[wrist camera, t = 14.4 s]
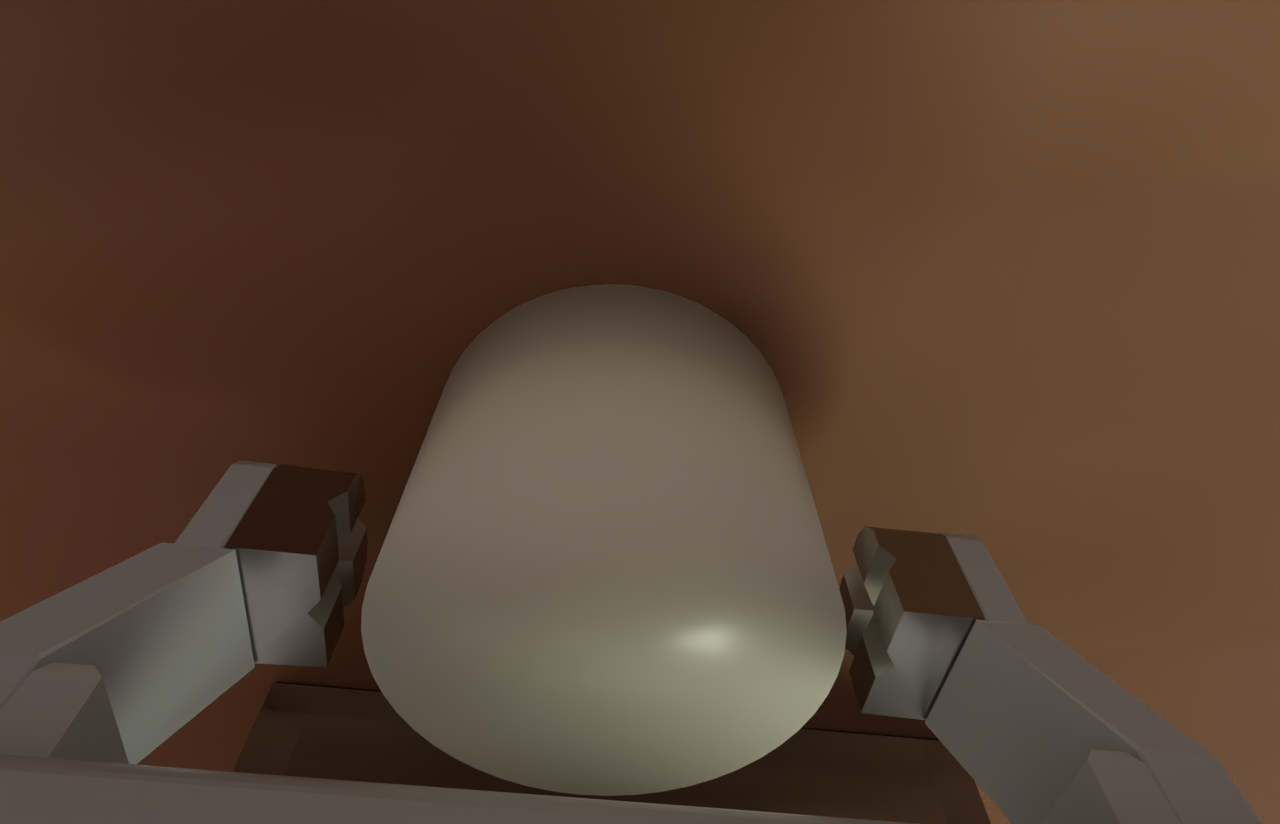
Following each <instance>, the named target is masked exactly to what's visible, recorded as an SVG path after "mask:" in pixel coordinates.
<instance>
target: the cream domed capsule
mask: <svg viewBox="0 0 1280 824" xmlns="http://www.w3.org/2000/svg"><path fill="white" fill-rule="evenodd" d="M361 634H362V640H363V647H364V653H365V656H366V659H367V662H368V665H369V667H370V670H371V673H372V675H373V677H374V679H375V681H376V683H377V684H378V686H379V688H380V690H381V692H382V694H383V695H384V696H385V698H386V699H387V700H388V702H389V703H390V704H391V706H392V707H393V708H394V710H395V711H396V712H397V713H398V714H399V715H400V716H401V717H402V718H403V719H404V720H405V721H406V722H407V723H408V724H409V725H410V726H411V727H412V728H413V729H414V730H415V731H416V732H417V733H419V734H420V735H421V736H423V737H424V738H425V739H426V740H428V741H429V742H430V743H431V744H433V745H434V746H436V747H437V748H439V749H441V750H442V751H444V752H445V753H447V754H449V755H450V756H452V757H453V758H455V759H457V760H459V761H461V762H463V763H465V764H467V765H469V766H471V767H473V768H475V769H477V770H480V771H483V772H485V773H488V774H490V775H493V776H496V777H498V778H501V779H504V780H507V781H511V782H514V783H518V784H521V785H525V786H529V787H533V788H538V789H543V790H548V791H553V792H561V793H570V794H578V795H597V796H619V795H639V794H647V793H656V792H663V791H668V790H673V789H678V788H683V787H688V786H692V785H695V784H699V783H702V782H706V781H709V780H712V779H715V778H718V777H720V776H723V775H726V774H728V773H731V772H733V771H736V770H738V769H740V768H742V767H744V766H746V765H748V764H750V763H752V762H754V761H756V760H758V759H760V758H762V757H763V756H765V755H766V754H768V753H769V752H771V751H772V750H774V749H776V748H777V747H779V746H780V745H781V744H783V743H784V742H785V741H786V740H788V739H789V738H790V737H791V736H793V735H794V734H795V733H796V732H797V731H799V730H800V729H801V728H802V726H803V725H804V724H805V723H806V722H807V721H808V720H809V719H810V718H811V717H812V716H813V715H814V714H815V713H816V711H817V710H818V708H819V707H820V706H821V704H822V703H823V701H824V700H825V699H826V697H827V696H828V694H829V692H830V690H831V688H832V686H833V684H834V682H835V680H836V678H837V676H838V673H839V670H840V667H841V663H842V660H843V657H844V652H845V643H846V634H847V629H846V617H845V608H844V604H843V601H842V597H841V594H840V590H839V586H838V583H837V579H836V576H835V573H834V569H833V566H832V562H831V559H830V555H829V552H828V548H827V545H826V542H825V538H824V535H823V531H822V528H821V524H820V521H819V517H818V514H817V510H816V507H815V504H814V500H813V497H812V493H811V490H810V486H809V483H808V479H807V476H806V473H805V469H804V466H803V462H802V459H801V455H800V452H799V448H798V445H797V442H796V438H795V435H794V431H793V428H792V424H791V421H790V417H789V414H788V411H787V407H786V404H785V400H784V397H783V393H782V390H781V387H780V385H779V383H778V381H777V379H776V377H775V374H774V372H773V370H772V369H771V367H770V366H769V364H768V362H767V361H766V359H765V358H764V356H763V355H762V353H761V352H760V351H759V350H758V349H757V348H756V346H755V345H754V344H753V343H752V342H751V341H750V340H749V339H748V337H747V336H746V335H744V334H743V333H742V332H741V331H740V330H739V329H737V328H736V327H735V326H734V325H733V324H731V323H730V322H729V321H728V320H726V319H724V318H723V317H721V316H720V315H718V314H717V313H715V312H714V311H712V310H710V309H709V308H707V307H705V306H702V305H700V304H698V303H696V302H694V301H692V300H690V299H687V298H685V297H682V296H679V295H676V294H672V293H669V292H666V291H663V290H658V289H653V288H648V287H642V286H637V285H622V284H600V285H585V286H579V287H574V288H568V289H562V290H559V291H555V292H552V293H549V294H546V295H543V296H539V297H537V298H534V299H532V300H530V301H528V302H526V303H524V304H521V305H519V306H517V307H515V308H513V309H512V310H510V311H509V312H507V313H505V314H504V315H502V316H501V317H499V318H498V319H496V320H495V321H493V322H492V323H491V324H490V325H489V326H488V327H486V328H485V329H484V330H483V331H482V332H481V333H479V334H478V335H477V336H476V338H475V339H474V340H473V341H472V342H471V343H470V344H469V346H468V347H467V348H466V349H465V350H464V351H463V353H462V354H461V356H460V358H459V359H458V361H457V362H456V364H455V365H454V367H453V369H452V371H451V373H450V375H449V378H448V380H447V382H446V384H445V387H444V389H443V392H442V394H441V397H440V399H439V402H438V405H437V407H436V410H435V412H434V415H433V417H432V420H431V423H430V425H429V428H428V430H427V433H426V435H425V438H424V440H423V443H422V446H421V448H420V451H419V453H418V456H417V458H416V461H415V464H414V466H413V469H412V471H411V474H410V476H409V479H408V482H407V484H406V487H405V489H404V492H403V494H402V497H401V500H400V502H399V505H398V507H397V510H396V512H395V515H394V517H393V520H392V523H391V525H390V528H389V530H388V533H387V535H386V538H385V541H384V543H383V546H382V548H381V551H380V553H379V556H378V559H377V561H376V564H375V566H374V569H373V571H372V574H371V576H370V579H369V582H368V584H367V588H366V592H365V596H364V601H363V605H362V616H361Z"/></svg>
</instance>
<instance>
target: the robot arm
mask: <svg viewBox="0 0 1280 824" xmlns="http://www.w3.org/2000/svg"><path fill="white" fill-rule="evenodd" d="M364 502H365V491H364V480H363V478H362V477H361V476H360V474H355V473H347V472H339V471H331V470H322V469H314V468H306V467H298V466H290V465H282V464H281V465H277V464H271V463H262V462H253V461H244V460H240V461H237V462H235V463H233V464H232V465H230V466H229V468H228V469H227V470H226V472H225V473H224V475H223V476H222V477H221V479H220V480H219V482H218V483H217V484H216V486H215V487H214V489H213V490H212V491H211V493H210V494H209V495H208V497H207V498H206V500H205V501H204V502H203V504H202V505H201V507H200V508H199V509H198V511H197V512H196V514H195V515H194V516H193V518H192V519H191V520H190V522H189V523H188V525H187V526H186V527H185V529H184V530H183V532H182V533H181V534H180V536H179V537H178V539H177V540H176V541H175V543H163V542H161V543H159V544H157V545H155V546H153V547H151V548H149V549H147V550H145V551H143V552H141V553H139V554H137V555H135V556H133V557H131V558H129V559H127V560H125V561H122V562H120V563H118V564H116V565H114V566H112V567H110V568H108V569H106V570H104V571H102V572H100V573H98V574H96V575H94V576H92V577H90V578H88V579H86V580H84V581H82V582H80V583H78V584H76V585H74V586H72V587H70V588H68V589H66V590H64V591H61V592H59V593H57V594H55V595H53V596H51V597H49V598H47V599H45V600H43V601H41V602H39V603H37V604H35V605H33V606H31V607H29V608H27V609H25V610H23V611H21V612H19V613H17V614H15V615H13V616H11V617H9V618H7V619H5V620H2V621H0V824H919V823H906V822H893V821H880V820H866V819H853V818H840V817H827V816H814V815H800V814H787V813H774V812H761V811H748V810H734V809H721V808H708V807H695V806H681V805H668V804H655V803H641V802H628V801H615V800H601V799H588V798H575V797H561V796H548V795H535V794H522V793H508V792H495V791H482V790H468V789H455V788H442V787H428V786H415V785H402V784H388V783H375V782H362V781H349V780H335V779H322V778H309V777H295V776H282V775H269V774H255V773H242V772H229V771H215V770H202V769H189V768H176V767H162V766H149V765H136V764H137V763H139V762H140V761H141V760H142V759H144V758H145V757H146V756H147V755H148V754H150V753H151V752H152V751H153V750H155V749H156V748H157V747H158V746H159V745H161V744H162V743H163V742H164V741H166V740H167V739H168V738H169V737H170V736H172V735H173V734H174V733H175V732H177V731H178V730H179V729H180V728H181V727H183V726H184V725H185V724H186V723H188V722H189V721H190V720H191V719H192V718H194V717H195V716H196V715H197V714H199V713H200V712H201V711H202V710H203V709H205V708H206V707H207V706H208V705H210V704H211V703H212V702H213V701H214V700H216V699H217V698H218V697H219V696H221V695H222V694H223V693H224V692H225V691H227V690H228V689H229V688H230V687H232V686H233V685H234V684H235V683H236V682H238V681H239V680H240V679H241V678H243V677H244V676H245V675H246V674H247V673H249V672H250V671H251V670H252V669H254V668H255V664H254V663H258V664H275V665H292V666H309V667H328V665H329V662H330V660H331V657H332V655H333V652H334V650H335V648H336V645H337V643H338V640H339V638H340V635H341V633H342V630H343V628H344V614H343V607H344V606H346V605H347V604H349V603H350V602H352V601H353V600H354V599H355V598H356V595H357V593H358V590H359V587H360V585H361V582H362V577H363V573H364V568H365V564H366V557H367V543H368V542H367V527H366V526H365V525H364V524H363V522H362V521H361V520H360V519H359V518H358V516H359V514H360V512H361V509H362V507H363V505H364ZM853 551H854V554H855V558H856V561H857V565H856V566H854V567H853V568H852V569H850V570H849V571H848V572H846V573H845V574H844V575H843V578H842V582H841V585H840V588H839V590H840V594H841V597H842V601H843V604H844V608H845V617H846V629H847V634H846V643H845V647H846V648H847V649H848V650H849V651H850V652H851V653H852V654H853V655H854V659H853V662H852V664H851V667H850V669H849V673H850V676H851V680H852V683H853V687H854V690H855V694H856V697H857V701H858V704H859V708H860V711H861V713H865V714H874V715H883V716H892V717H901V718H909V719H918V720H926V722H925V724H926V725H927V726H928V728H929V729H930V730H931V731H932V732H933V733H934V734H935V736H936V737H937V738H938V739H939V740H940V741H941V742H942V744H943V745H944V746H945V747H946V748H947V749H948V750H949V752H950V753H951V754H952V755H953V756H954V757H955V759H956V760H957V761H958V762H959V763H960V764H961V765H962V767H963V768H964V769H965V770H966V771H967V772H968V773H969V775H970V776H971V777H972V778H973V779H974V780H975V781H976V783H977V784H978V785H979V786H980V787H981V788H982V790H983V791H984V792H985V793H986V794H987V795H988V796H989V798H990V799H991V800H992V801H993V802H994V803H995V804H996V806H997V807H998V808H999V809H1000V810H1001V811H1002V812H1003V814H1004V815H1005V816H1006V817H1007V818H1008V819H1009V821H1010V822H1011V823H1012V824H1262V823H1261V821H1260V820H1259V818H1258V817H1257V815H1256V814H1255V813H1254V811H1253V810H1252V808H1251V807H1250V805H1249V804H1248V802H1247V801H1246V799H1245V798H1244V796H1243V795H1242V793H1241V792H1240V790H1239V789H1238V787H1237V786H1236V784H1235V783H1234V781H1233V780H1232V778H1231V777H1230V775H1229V774H1228V773H1227V771H1226V770H1225V768H1224V767H1223V765H1222V764H1221V762H1220V761H1219V759H1218V758H1217V757H1216V756H1215V755H1213V754H1212V753H1211V752H1209V751H1208V750H1207V749H1205V748H1204V747H1203V746H1201V745H1200V744H1198V743H1197V742H1196V741H1194V740H1193V739H1192V738H1190V737H1189V736H1188V735H1186V734H1185V733H1184V732H1182V731H1181V730H1180V729H1178V728H1177V727H1176V726H1174V725H1173V724H1172V723H1170V722H1169V721H1168V720H1166V719H1165V718H1163V717H1162V716H1161V715H1159V714H1158V713H1157V712H1155V711H1154V710H1153V709H1151V708H1150V707H1149V706H1147V705H1146V704H1145V703H1143V702H1142V701H1141V700H1139V699H1138V698H1137V697H1135V696H1134V695H1132V694H1131V693H1130V692H1128V691H1127V690H1126V689H1124V688H1123V687H1122V686H1120V685H1119V684H1118V683H1116V682H1115V681H1114V680H1112V679H1111V678H1110V677H1108V676H1107V675H1106V674H1104V673H1103V672H1102V671H1100V670H1099V669H1097V668H1096V667H1095V666H1093V665H1092V664H1091V663H1089V662H1088V661H1087V660H1085V659H1084V658H1083V657H1081V656H1080V655H1079V654H1077V653H1076V652H1075V651H1073V650H1072V649H1071V648H1069V647H1068V646H1067V645H1065V644H1064V643H1062V642H1061V641H1060V640H1058V639H1057V638H1056V637H1054V636H1053V635H1052V634H1050V633H1049V632H1048V631H1046V630H1045V629H1044V628H1042V627H1041V626H1038V625H1029V624H1028V623H1027V621H1026V619H1025V617H1024V615H1023V613H1022V612H1021V610H1020V608H1019V606H1018V604H1017V603H1016V601H1015V599H1014V597H1013V595H1012V593H1011V592H1010V590H1009V588H1008V586H1007V584H1006V582H1005V581H1004V579H1003V577H1002V575H1001V573H1000V572H999V570H998V568H997V566H996V564H995V562H994V561H993V559H992V557H991V555H990V553H989V551H988V550H987V548H986V546H985V544H984V542H983V541H982V540H981V539H980V538H978V537H977V536H975V535H965V534H952V533H937V534H936V533H927V532H917V531H907V530H897V529H886V528H876V527H866V526H865V527H864V528H863V529H862V530H861V532H860V533H859V534H858V537H857V539H856V542H855V545H854V547H853Z"/></svg>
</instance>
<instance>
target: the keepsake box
mask: <svg viewBox="0 0 1280 824" xmlns="http://www.w3.org/2000/svg"><path fill="white" fill-rule="evenodd" d="M233 772H242V773H255V774H269V775H282V776H295V777H309V778H322V779H335V780H349V781H362V782H375V783H388V784H402V785H415V786H428V787H442V788H455V789H468V790H482V791H495V792H508V793H522V794H535V795H548V796H561V797H575V798H588V799H601V800H615V801H628V802H641V803H655V804H668V805H681V806H695V807H708V808H721V809H734V810H748V811H761V812H774V813H787V814H800V815H814V816H827V817H840V818H853V819H866V820H880V821H893V822H906V823H919V824H991V823H990V820H989V818H988V815H987V812H986V810H985V807H984V805H983V802H982V799H981V797H980V794H979V791H978V789H977V786H976V784H975V781H974V779H973V778H972V777H971V776H970V775H969V773H968V772H967V771H966V770H965V769H964V768H963V767H962V765H961V764H960V763H959V762H958V761H957V760H956V759H955V757H954V756H953V755H952V754H951V753H950V752H949V750H948V749H947V748H946V747H945V746H944V745H943V744H942V742H941V741H937V740H925V739H914V738H902V737H891V736H879V735H868V734H856V733H845V732H833V731H822V730H811V729H800V730H799V731H797V732H796V733H795V734H794V735H793V736H791V737H790V738H789V739H788V740H786V741H785V742H784V743H783V744H781V745H780V746H779V747H777V748H776V749H774V750H772V751H771V752H769V753H768V754H766V755H765V756H763V757H762V758H760V759H758V760H756V761H754V762H752V763H750V764H748V765H746V766H744V767H742V768H740V769H738V770H736V771H733V772H731V773H728V774H726V775H723V776H720V777H718V778H715V779H712V780H709V781H706V782H702V783H699V784H695V785H692V786H688V787H683V788H678V789H673V790H668V791H663V792H656V793H647V794H639V795H619V796H597V795H578V794H570V793H561V792H553V791H548V790H543V789H538V788H533V787H529V786H525V785H521V784H518V783H514V782H511V781H507V780H504V779H501V778H498V777H496V776H493V775H490V774H488V773H485V772H483V771H480V770H477V769H475V768H473V767H471V766H469V765H467V764H465V763H463V762H461V761H459V760H457V759H455V758H453V757H452V756H450V755H449V754H447V753H445V752H444V751H442V750H441V749H439V748H437V747H436V746H434V745H433V744H431V743H430V742H429V741H428V740H426V739H425V738H424V737H423V736H421V735H420V734H419V733H417V732H416V731H415V730H414V729H413V728H412V727H411V726H410V725H409V724H408V723H407V722H406V721H405V720H404V719H403V718H402V717H401V716H400V715H399V714H398V713H397V712H396V711H395V710H394V708H393V707H392V706H391V704H390V703H389V702H388V700H387V699H386V698H385V696H384V695H383V694H382V692H375V691H364V690H352V689H341V688H329V687H318V686H307V685H295V684H284V683H273V685H272V688H271V690H270V692H269V694H268V696H267V698H266V701H265V703H264V705H263V707H262V709H261V711H260V714H259V716H258V718H257V720H256V722H255V725H254V727H253V729H252V731H251V733H250V735H249V738H248V740H247V742H246V744H245V746H244V748H243V751H242V753H241V755H240V757H239V759H238V761H237V764H236V766H235V768H234V770H233Z"/></svg>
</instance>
